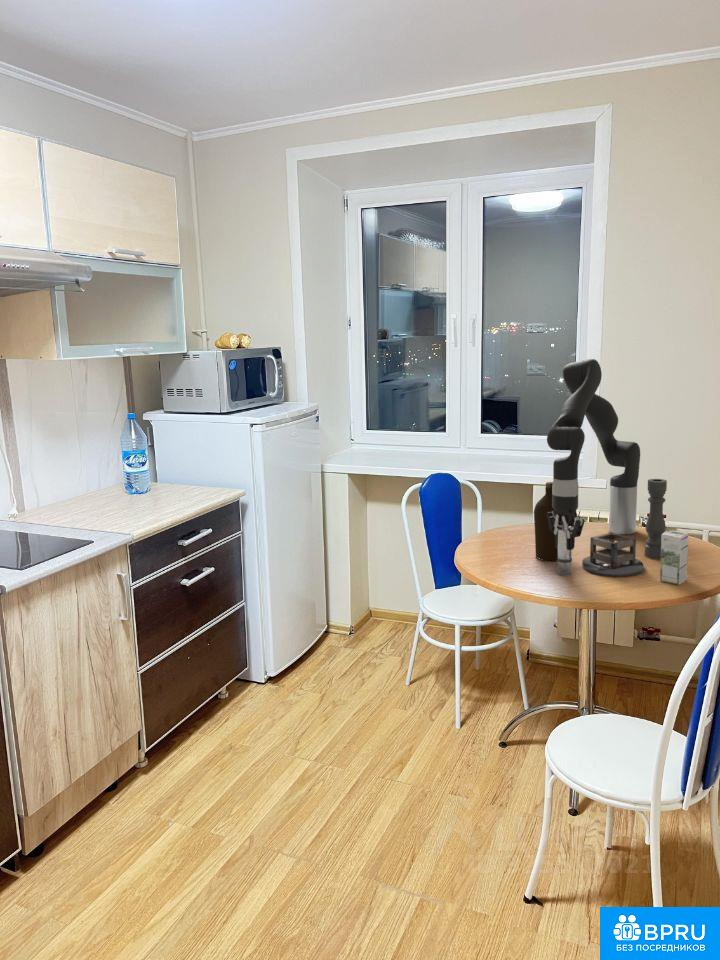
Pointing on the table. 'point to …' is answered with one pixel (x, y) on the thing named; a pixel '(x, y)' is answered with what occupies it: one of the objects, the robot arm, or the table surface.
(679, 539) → the syrup box
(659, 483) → the candle holder
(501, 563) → the table surface
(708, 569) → the table surface
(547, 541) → the olive oil
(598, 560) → the collar stand
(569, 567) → the silver metal bottle
